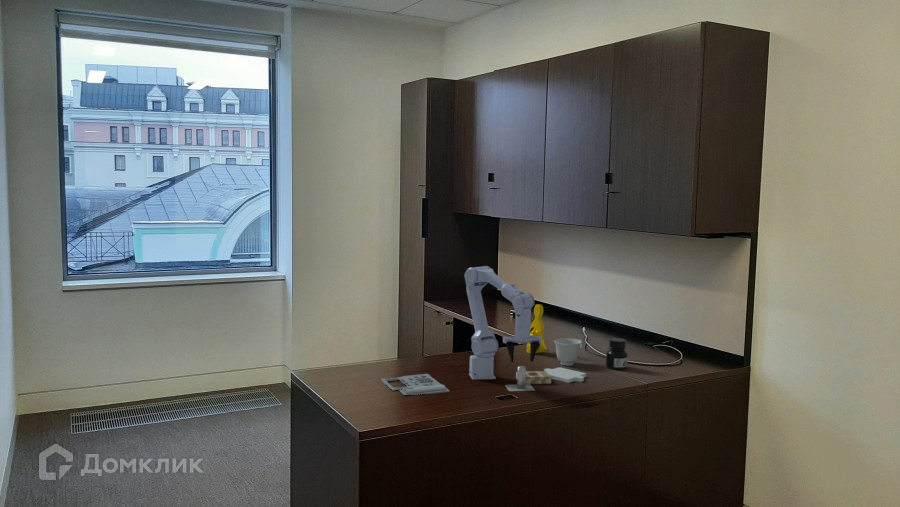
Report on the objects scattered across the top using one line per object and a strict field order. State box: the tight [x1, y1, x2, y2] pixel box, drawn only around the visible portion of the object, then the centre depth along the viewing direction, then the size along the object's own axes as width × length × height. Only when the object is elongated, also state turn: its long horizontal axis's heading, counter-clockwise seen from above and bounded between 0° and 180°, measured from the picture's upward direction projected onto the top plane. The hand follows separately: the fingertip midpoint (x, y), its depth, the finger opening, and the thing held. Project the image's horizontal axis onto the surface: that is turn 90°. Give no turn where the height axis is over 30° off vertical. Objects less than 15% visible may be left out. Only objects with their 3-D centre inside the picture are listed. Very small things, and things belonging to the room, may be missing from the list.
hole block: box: [515, 370, 552, 385], centre depth 276 cm, size 12×8×3 cm, turn 98°
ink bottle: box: [605, 337, 629, 371], centre depth 299 cm, size 10×9×12 cm
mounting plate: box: [543, 366, 587, 384], centre depth 284 cm, size 18×13×2 cm
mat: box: [504, 384, 536, 392], centre depth 267 cm, size 10×8×1 cm
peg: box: [516, 365, 527, 389], centre depth 267 cm, size 3×3×8 cm
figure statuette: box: [517, 304, 548, 354], centre depth 323 cm, size 18×8×22 cm, turn 42°
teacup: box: [553, 337, 584, 366], centre depth 305 cm, size 12×15×10 cm
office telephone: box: [380, 373, 450, 396], centre depth 268 cm, size 23×3×20 cm
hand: (521, 361), depth 266 cm, fingers open, 7 cm apart
